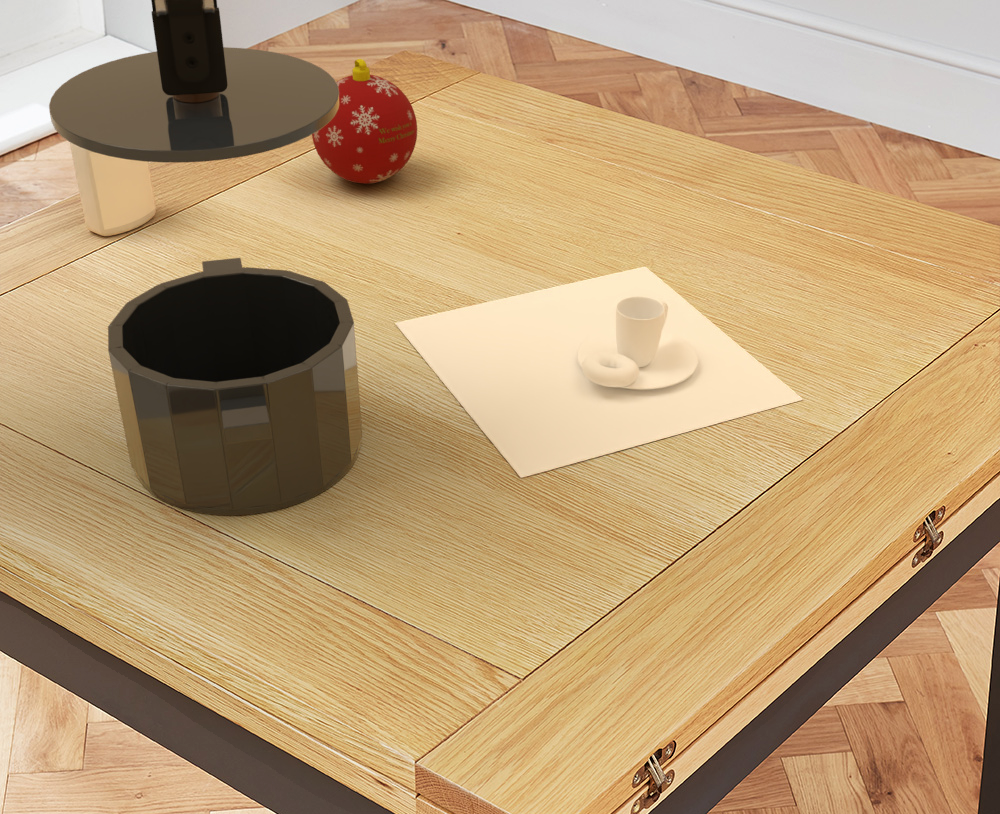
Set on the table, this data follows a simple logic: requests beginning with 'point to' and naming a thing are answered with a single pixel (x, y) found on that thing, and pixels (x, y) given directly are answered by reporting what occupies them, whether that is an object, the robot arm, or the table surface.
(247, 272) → the dark grey open cylinder
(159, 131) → the lid
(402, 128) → the christmas ornament
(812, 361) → the table surface
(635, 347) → the teacup and saucer
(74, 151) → the eye dropper bottle
